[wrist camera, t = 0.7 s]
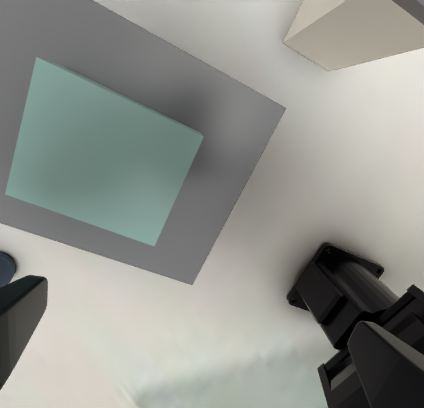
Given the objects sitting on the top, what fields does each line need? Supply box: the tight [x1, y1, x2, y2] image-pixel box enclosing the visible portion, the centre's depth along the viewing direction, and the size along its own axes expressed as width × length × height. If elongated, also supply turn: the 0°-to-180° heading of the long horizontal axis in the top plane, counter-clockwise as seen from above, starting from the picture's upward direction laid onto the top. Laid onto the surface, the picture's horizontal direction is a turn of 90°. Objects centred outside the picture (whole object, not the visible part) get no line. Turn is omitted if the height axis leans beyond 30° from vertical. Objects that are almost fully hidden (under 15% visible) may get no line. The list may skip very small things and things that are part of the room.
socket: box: [0, 0, 286, 285], centre depth 15 cm, size 18×12×4 cm, turn 64°
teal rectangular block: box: [5, 57, 203, 246], centre depth 12 cm, size 7×6×2 cm
